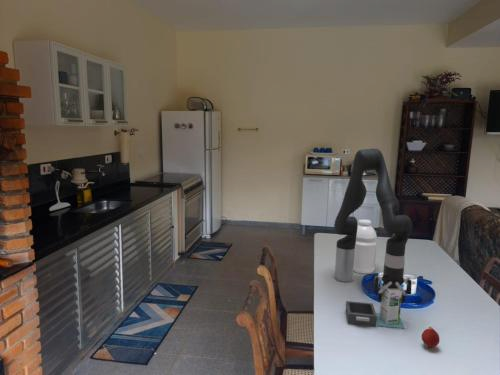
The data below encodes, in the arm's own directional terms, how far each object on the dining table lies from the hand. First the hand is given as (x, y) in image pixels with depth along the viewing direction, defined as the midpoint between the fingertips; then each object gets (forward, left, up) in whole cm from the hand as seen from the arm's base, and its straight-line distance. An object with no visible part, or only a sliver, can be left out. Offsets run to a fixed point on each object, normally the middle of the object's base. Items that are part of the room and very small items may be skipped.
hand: (390, 301), depth 150 cm
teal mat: (0, 0, -9) cm, 9 cm away
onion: (+16, +11, -9) cm, 21 cm away
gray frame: (0, -11, -9) cm, 14 cm away
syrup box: (0, 0, -8) cm, 8 cm away
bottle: (-55, -4, -9) cm, 56 cm away
